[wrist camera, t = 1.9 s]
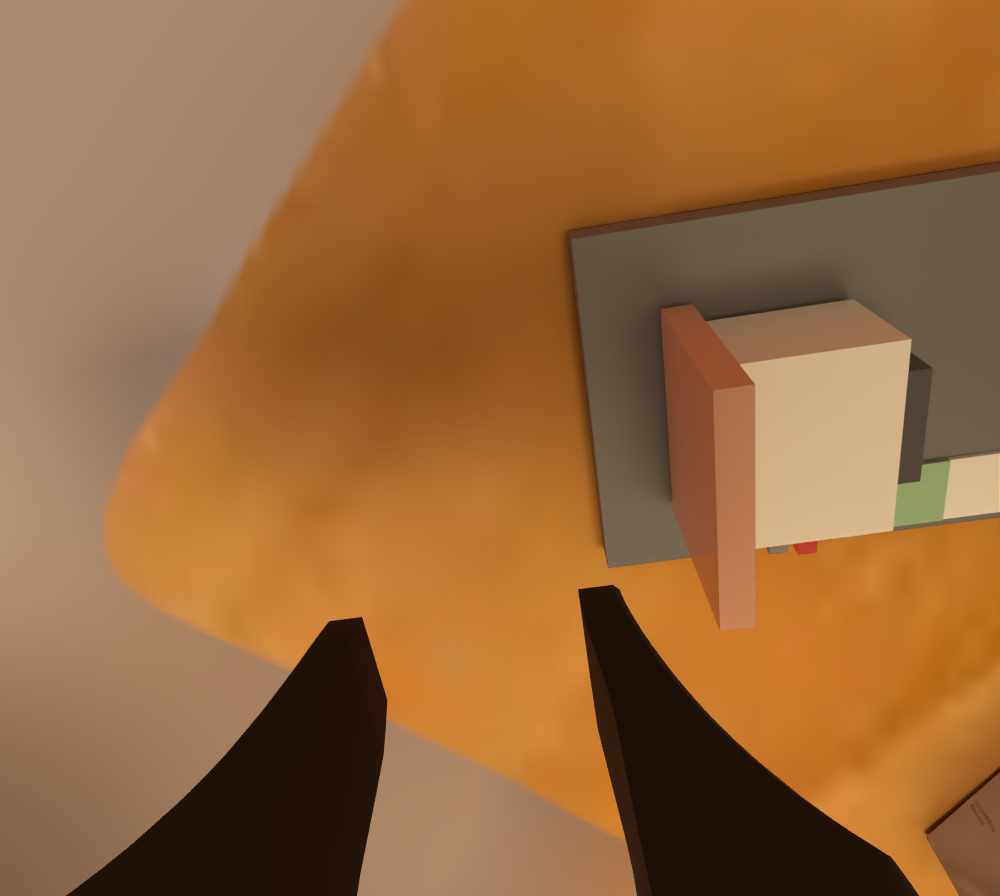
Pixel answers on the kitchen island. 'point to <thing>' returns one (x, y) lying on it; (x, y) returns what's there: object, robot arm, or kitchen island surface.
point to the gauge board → (791, 284)
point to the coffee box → (972, 843)
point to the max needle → (806, 547)
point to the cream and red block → (786, 435)
